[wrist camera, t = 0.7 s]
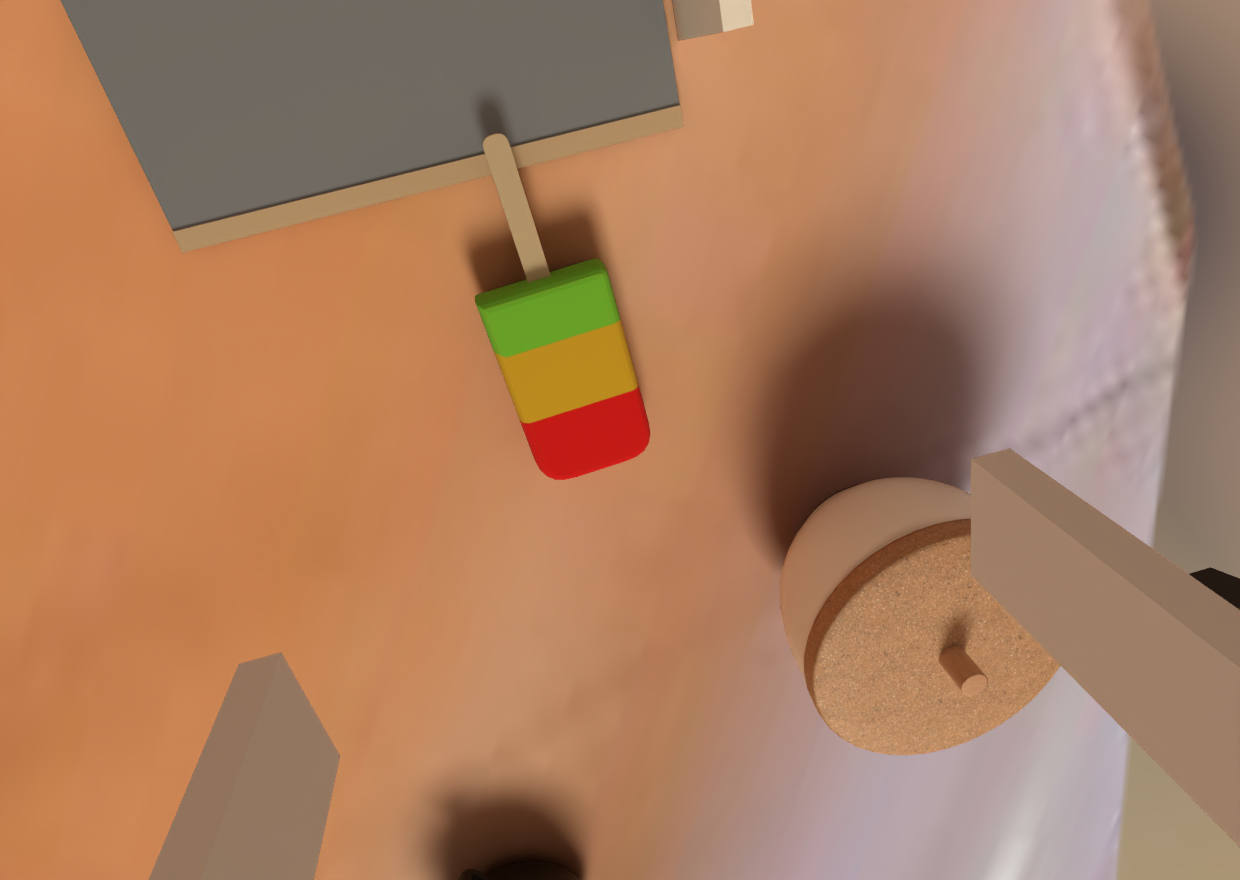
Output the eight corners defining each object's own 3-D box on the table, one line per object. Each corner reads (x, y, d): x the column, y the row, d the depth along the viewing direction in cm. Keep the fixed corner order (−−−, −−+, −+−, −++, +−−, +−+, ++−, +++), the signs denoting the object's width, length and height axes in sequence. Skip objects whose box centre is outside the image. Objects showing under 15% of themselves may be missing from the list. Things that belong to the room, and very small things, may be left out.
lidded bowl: (943, 617, 45) (1073, 768, 35) (741, 645, 43) (818, 812, 33) (983, 426, 39) (1151, 541, 29) (752, 449, 37) (849, 580, 28)
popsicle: (541, 470, 36) (545, 491, 34) (422, 152, 28) (419, 159, 27) (650, 435, 36) (659, 454, 35) (560, 110, 29) (566, 114, 27)
